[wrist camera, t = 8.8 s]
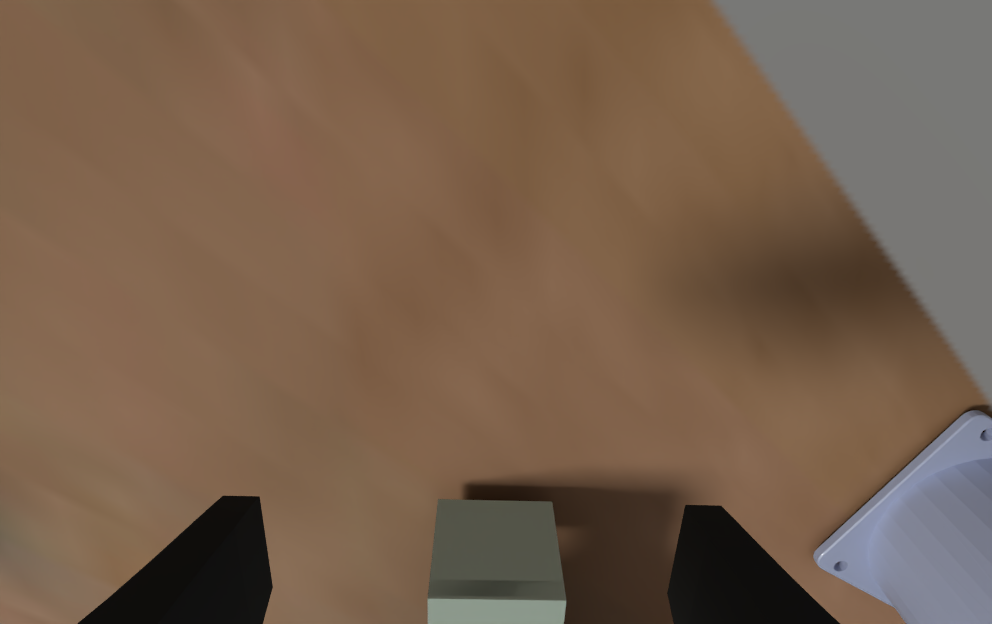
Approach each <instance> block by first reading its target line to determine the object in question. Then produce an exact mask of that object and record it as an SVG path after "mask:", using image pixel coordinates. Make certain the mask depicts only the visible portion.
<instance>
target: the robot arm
mask: <svg viewBox="0 0 992 624" xmlns="http://www.w3.org/2000/svg"><path fill="white" fill-rule="evenodd" d="M984 430H986V431H985V432H983V431H984ZM982 432H983V433H982ZM813 557H814V560H815V562H816V563H817V565H818V566H819V567H820V568H821V569H823V570H825V571H827V572H829V573H830V574H832V575H834V576H836V577H838V578H840V579H842V580H844V581H845V582H847V583H849V584H851V585H853V586H855V587H857V588H858V589H860V590H862V591H864V592H866V593H868V594H870V595H872V596H873V597H875V598H877V599H879V600H881V601H883V602H885V603H887V604H888V605H890V606H892V607H894V608H895V609H896V610H897V612H898V613H899V614H900V616H901V617H902V619H903V620H904V621H905V623H906V624H992V418H991V417H989V416H988V415H986V414H985V413H983V412H981V411H979V410H972V411H969V412H966V413H964V414H963V415H962V416H960V417H959V418H958V419H957V420H956V421H955V422H954V423H953V424H952V425H951V426H950V427H948V428H947V429H946V430H945V431H944V432H943V433H942V434H941V435H940V436H939V437H938V438H937V439H935V440H934V441H933V442H932V443H931V444H930V445H929V446H928V447H927V448H926V449H925V450H924V451H922V452H921V453H920V454H919V455H918V456H917V457H916V458H915V459H914V460H913V461H912V462H911V463H909V464H908V465H907V466H906V467H905V468H904V469H903V470H902V471H901V472H900V473H899V474H898V475H896V476H895V477H894V478H893V479H892V480H891V481H890V482H889V483H888V484H887V485H886V486H885V487H883V488H882V489H881V490H880V491H879V492H878V493H877V494H876V495H875V496H874V497H873V498H871V499H870V500H869V501H868V502H867V503H866V504H865V505H864V506H863V507H862V508H861V509H860V510H858V511H857V512H856V513H855V514H854V515H853V516H852V517H851V518H850V519H849V520H848V521H847V522H845V523H844V524H843V525H842V526H841V527H840V528H839V529H838V530H837V531H836V532H835V533H834V534H832V535H831V536H830V537H829V538H828V539H827V540H826V541H825V542H824V543H823V544H822V545H821V546H819V547H818V548H817V550H816V551H815V552H814V556H813ZM837 562H838V563H837ZM272 588H273V586H272V579H271V572H270V565H269V559H268V552H267V545H266V538H265V531H264V524H263V517H262V510H261V504H260V497H256V496H222V497H221V498H220V499H219V500H218V501H217V502H215V503H214V504H213V505H212V506H211V507H210V508H209V509H207V510H206V511H205V512H204V513H203V514H202V515H201V516H200V517H199V518H197V519H196V520H195V521H194V522H193V523H192V524H191V525H190V526H189V527H188V528H186V529H185V530H184V531H183V532H182V533H181V534H180V535H179V536H178V537H177V538H176V539H174V540H173V541H172V542H171V543H170V544H169V545H168V546H167V547H166V548H165V549H163V550H162V551H161V552H160V553H159V554H158V555H157V556H156V557H155V558H153V559H152V560H151V561H150V562H149V563H148V564H147V565H146V566H144V567H143V568H142V569H141V570H140V571H139V572H138V573H136V574H135V575H134V576H133V577H132V578H131V579H130V580H129V581H127V582H126V583H125V584H124V585H123V586H122V587H121V588H119V589H118V590H117V591H116V592H115V593H114V594H113V595H111V596H110V597H109V598H108V599H107V600H106V601H104V602H103V603H102V604H101V605H100V606H98V607H97V608H96V609H95V610H93V611H92V612H91V613H90V614H89V615H87V616H86V617H85V618H84V619H82V620H81V621H80V622H79V623H78V624H263V621H264V617H265V613H266V610H267V606H268V602H269V599H270V595H271V591H272ZM667 594H668V598H669V603H670V608H671V612H672V617H673V622H674V624H840V623H839V622H838V621H837V620H835V619H834V618H833V617H832V616H831V615H830V614H829V613H828V612H827V611H826V610H825V609H824V608H823V607H822V606H821V605H820V604H818V603H817V602H816V601H815V600H814V599H813V598H812V597H811V596H810V595H809V594H808V593H807V592H806V591H805V590H804V589H803V588H802V587H801V586H800V585H799V584H798V583H797V582H796V581H795V580H794V579H793V578H792V577H791V576H790V575H789V574H788V573H787V572H786V571H785V570H784V569H783V568H782V567H781V566H780V565H779V564H778V563H777V562H776V561H775V560H774V559H773V558H772V557H771V556H770V555H769V554H768V553H767V552H766V551H765V550H764V549H763V548H762V547H761V546H760V545H759V544H758V543H757V542H756V541H755V540H754V539H753V538H752V537H751V536H750V535H749V534H748V533H747V532H746V531H745V530H744V529H743V528H742V527H741V526H740V524H739V523H738V522H737V521H736V520H735V519H734V518H733V517H732V516H731V515H730V514H729V513H728V512H727V511H726V510H725V509H724V508H723V507H722V506H708V505H685V509H684V514H683V519H682V524H681V529H680V534H679V539H678V544H677V549H676V554H675V559H674V563H673V568H672V573H671V578H670V583H669V588H668V593H667Z"/></svg>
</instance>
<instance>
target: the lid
mask: <svg viewBox="0 0 992 624" xmlns="http://www.w3.org/2000/svg"><path fill="white" fill-rule="evenodd" d="M565 609H566V594H565V587H564V581H563V574H562V567H561V560H560V553H559V546H558V539H557V532H556V525H555V518H554V511H553V504H552V502H548V501H498V500H448V499H438V505H437V514H436V524H435V534H434V543H433V553H432V562H431V572H430V582H429V591H428V624H564V617H565Z"/></svg>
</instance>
